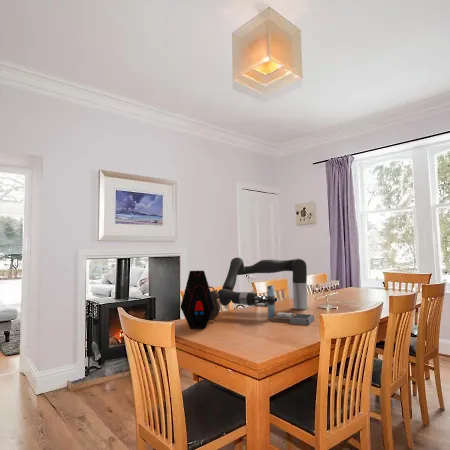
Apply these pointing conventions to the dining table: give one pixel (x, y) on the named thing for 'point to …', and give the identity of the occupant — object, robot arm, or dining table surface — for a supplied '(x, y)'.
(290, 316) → the chip
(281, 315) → the chip
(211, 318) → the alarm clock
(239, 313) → the dining table surface
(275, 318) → the slot rails
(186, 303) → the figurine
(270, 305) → the rod
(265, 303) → the phone holder
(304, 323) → the tray
